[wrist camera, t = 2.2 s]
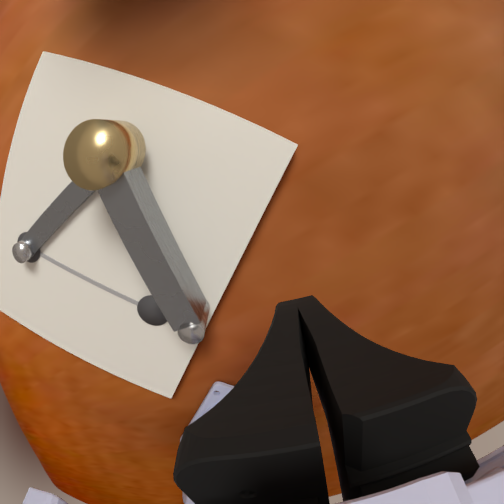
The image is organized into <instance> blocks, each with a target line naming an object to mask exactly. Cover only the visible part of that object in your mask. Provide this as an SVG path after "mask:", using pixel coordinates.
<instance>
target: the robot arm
mask: <svg viewBox="0 0 504 504" xmlns="http://www.w3.org/2000/svg"><path fill="white" fill-rule="evenodd" d="M309 368H310V371H311V374H312V377H313V380H314V383H315V386H316V388H317V391H318V394H319V397H320V400H321V403H322V406H323V409H324V412H325V415H326V419H327V422H328V427H329V431H330V436H331V441H332V446H333V450H334V455H335V460H336V465H337V470H338V476H339V481H340V486H341V492H342V497H343V502H340V503H335V504H504V445H503V446H502V447H500V448H498V449H497V450H495V451H493V452H491V453H490V454H488V455H486V456H484V457H482V458H481V459H479V460H476V458H475V456H474V454H473V453H472V451H471V449H470V447H469V445H470V444H471V438H470V436H469V434H468V433H467V431H466V430H467V427H468V425H469V423H470V420H471V417H472V415H473V412H474V410H475V406H476V402H477V397H476V392H475V391H474V389H473V388H472V387H471V385H470V384H469V382H468V381H467V380H466V378H465V377H464V376H463V375H462V374H461V373H460V371H459V370H458V369H457V368H456V367H455V366H454V365H449V364H442V363H436V362H430V361H425V360H421V359H417V358H414V357H410V356H407V355H404V354H400V353H398V352H395V351H392V350H390V349H387V348H385V347H382V346H380V345H378V344H376V343H374V342H372V341H370V340H368V339H366V338H365V337H363V336H361V335H360V334H358V333H357V332H355V331H354V330H352V329H351V328H349V327H348V326H346V325H345V324H344V323H342V322H341V321H340V320H339V319H338V318H336V317H335V316H334V315H333V314H332V313H330V312H329V311H328V310H327V309H326V308H325V307H324V306H323V305H322V304H321V303H320V302H319V301H318V300H317V299H316V298H315V297H314V296H307V297H303V298H299V299H294V300H290V301H285V302H281V303H278V304H277V306H276V309H275V314H274V317H273V321H272V324H271V326H270V329H269V331H268V334H267V336H266V338H265V341H264V343H263V344H262V346H261V348H260V350H259V352H258V354H257V356H256V358H255V359H254V361H253V362H252V364H251V365H250V367H249V368H248V370H247V371H246V373H245V374H244V375H243V376H242V378H241V379H240V380H239V382H238V383H237V384H236V385H235V386H232V385H229V384H226V383H223V382H215V383H214V384H213V386H212V387H211V389H210V391H209V392H208V394H207V396H206V397H205V399H204V401H203V402H202V404H201V405H200V407H199V409H198V410H197V412H196V414H195V415H194V417H193V419H192V420H191V422H190V424H189V425H188V426H187V427H186V428H185V430H184V433H183V435H182V437H181V439H180V444H179V448H178V452H177V457H176V462H175V468H174V473H173V475H174V481H175V483H176V484H177V486H178V487H179V488H180V489H181V490H182V491H183V502H184V504H329V497H328V490H327V484H326V477H325V471H324V465H323V459H322V453H321V447H320V441H319V436H318V431H317V426H316V421H315V416H314V412H313V404H312V393H311V382H310V372H309ZM216 391H219V392H216ZM23 504H68V503H67V502H65V501H64V500H63V499H61V498H60V497H58V496H56V495H54V494H52V493H49V492H46V491H43V490H39V489H36V488H33V487H30V488H29V490H28V492H27V494H26V497H25V499H24V501H23Z"/></svg>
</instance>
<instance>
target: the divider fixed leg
mask: <svg viewBox="0 0 504 504" xmlns="http://www.w3.org/2000/svg"><path fill="white" fill-rule="evenodd" d="M95 191H96V190H86V189H83V188H81V187H79V186H77V185H76V184H75V183H74V182H73V181H72V182H71V183H70V184H69V185H68V186H67V187H66V188H65V189H64V190H63V191H62V192H61V193H60V194H59V195H58V197H57V198H56V199H55V200H54V201H53V202H52V203H51V204H50V206H49V207H48V208H47V209H46V210H45V211H44V212H43V214H42V215H41V216H40V217H39V218H38V219H37V221H36V222H35V223H34V224H33V225H32V227H31V228H30V229H29V230H28V232H27V233H26V234H25V235H24V237H23V238H22V239H21V241H19V242H18V243H16V244H14V245H13V248H12V253H13V256H14V258H15V260H16V261H17V262H19V263H24V262H26V261H27V260H29V259H30V258H31V257H33V256H34V255H35V254H36V253H37V251H38V250H39V249H40V248H41V247H42V246H43V245H44V244H45V243H46V242H47V241H48V239H49V238H50V237H51V236H52V235H53V234H54V233H55V232H56V231H57V230H58V229H59V228H60V226H61V225H62V224H63V223H64V222H65V221H66V220H67V219H68V218H69V217H70V216H71V215H72V214H73V213H74V212H75V211H76V210H77V209H78V208H79V207H80V206H81V205H82V204H83V203H84V202H85V201H86V200H87V199H88V198H89V197H90V196H91V195H92V194H93V193H94V192H95Z"/></svg>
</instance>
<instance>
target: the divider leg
mask: <svg viewBox="0 0 504 504" xmlns="http://www.w3.org/2000/svg"><path fill="white" fill-rule="evenodd" d="M145 152H146V146H145V140H144V137H143V135H142V133H141V132H140V130H139V129H138V128H137V127H136V126H135V125H133V124H132V123H130V122H127V121H121V120H105V119H90V120H86V121H84V122H82V123H80V124H79V125H77V126H76V127H75V128H74V129H73V130H72V131H71V133H70V134H69V136H68V138H67V140H66V142H65V145H64V150H63V162H64V167H65V170H66V172H67V174H68V176H69V178H70V179H71V180H72V181H73V182H74V183H75V184H76V185H77V186H79V187H81V188H83V189H86V190H97V191H98V193H99V195H100V197H101V199H102V201H103V204H104V206H105V208H106V210H107V212H108V214H109V216H110V218H111V220H112V222H113V224H114V226H115V228H116V230H117V232H118V234H119V236H120V238H121V240H122V242H123V244H124V246H125V247H126V249H127V251H128V253H129V255H130V257H131V259H132V261H133V262H134V264H135V266H136V268H137V270H138V272H139V273H140V275H141V277H142V279H143V281H144V282H145V284H146V286H147V288H148V289H149V291H150V293H151V295H152V296H153V298H154V300H155V301H156V303H157V305H158V306H159V308H160V310H161V311H162V313H163V315H164V316H165V318H166V320H167V321H168V323H169V325H170V326H171V328H172V329H173V331H174V332H175V331H178V336H179V337H180V339H181V340H182V341H184V342H185V343H188V344H197V343H199V342H201V341H202V340H203V338H204V334H205V329H206V325H207V320H208V315H209V310H210V305H209V302H208V301H207V300H206V298H205V296H204V295H203V293H202V291H201V289H200V287H199V285H198V283H197V281H196V279H195V278H194V276H193V274H192V272H191V270H190V268H189V266H188V264H187V262H186V260H185V258H184V256H183V254H182V252H181V250H180V248H179V246H178V244H177V242H176V240H175V238H174V236H173V234H172V232H171V230H170V228H169V226H168V224H167V222H166V220H165V218H164V216H163V214H162V212H161V210H160V208H159V206H158V203H157V201H156V199H155V197H154V195H153V193H152V191H151V189H150V186H149V184H148V182H147V180H146V178H145V176H144V173H143V171H142V169H141V165H142V163H143V161H144V158H145Z"/></svg>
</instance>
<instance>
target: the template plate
mask: <svg viewBox="0 0 504 504" xmlns="http://www.w3.org/2000/svg"><path fill="white" fill-rule="evenodd" d="M90 119H105V120H121V121H127V122H130V123H132V124H133V125H135V126H136V127H137V128H138V129H139V130H140V132H141V133H142V135H143V137H144V140H145V146H146V152H145V158H144V161H143V163H142V165H141V169H142V171H143V173H144V176H145V178H146V180H147V182H148V184H149V186H150V189H151V191H152V193H153V195H154V197H155V199H156V201H157V203H158V206H159V208H160V210H161V212H162V214H163V216H164V218H165V220H166V222H167V224H168V226H169V228H170V230H171V232H172V234H173V236H174V238H175V240H176V242H177V244H178V246H179V248H180V250H181V252H182V254H183V256H184V258H185V260H186V262H187V264H188V266H189V268H190V270H191V272H192V274H193V276H194V278H195V279H196V281H197V283H198V285H199V287H200V289H201V291H202V293H203V295H204V296H205V298H206V300H207V301H208V302H209V305H210V310H209V315H208V320H207V325H208V323H209V321H210V319H211V317H212V315H213V313H214V311H215V309H216V307H217V305H218V303H219V301H220V299H221V297H222V295H223V293H224V291H225V289H226V287H227V285H228V283H229V281H230V279H231V277H232V275H233V273H234V271H235V269H236V267H237V265H238V263H239V261H240V259H241V257H242V255H243V253H244V251H245V249H246V247H247V245H248V243H249V241H250V239H251V237H252V235H253V233H254V231H255V229H256V227H257V225H258V223H259V221H260V219H261V217H262V215H263V213H264V211H265V209H266V207H267V205H268V203H269V201H270V199H271V197H272V195H273V193H274V191H275V189H276V187H277V185H278V183H279V181H280V179H281V177H282V175H283V173H284V171H285V169H286V167H287V166H288V164H289V162H290V160H291V158H292V156H293V154H294V152H295V150H296V148H297V146H298V145H297V144H295V143H293V142H291V141H289V140H287V139H285V138H283V137H281V136H279V135H277V134H275V133H273V132H271V131H269V130H267V129H265V128H263V127H260V126H258V125H256V124H254V123H252V122H250V121H247V120H245V119H243V118H241V117H239V116H236V115H234V114H232V113H229V112H227V111H225V110H222V109H220V108H218V107H215V106H213V105H211V104H208V103H206V102H203V101H201V100H198V99H196V98H193V97H191V96H188V95H186V94H183V93H180V92H178V91H175V90H172V89H170V88H167V87H164V86H161V85H159V84H156V83H153V82H150V81H147V80H144V79H141V78H138V77H135V76H132V75H129V74H126V73H123V72H120V71H116V70H113V69H110V68H107V67H103V66H100V65H96V64H93V63H89V62H85V61H82V60H78V59H74V58H70V57H66V56H62V55H58V54H53V53H49V52H45V51H43V53H42V55H41V57H40V60H39V62H38V65H37V67H36V69H35V72H34V75H33V77H32V80H31V82H30V85H29V88H28V91H27V94H26V96H25V99H24V102H23V105H22V109H21V112H20V115H19V118H18V122H17V125H16V129H15V132H14V136H13V140H12V144H11V148H10V152H9V156H8V161H7V165H6V170H5V175H4V181H3V186H2V192H1V198H0V310H1V311H2V312H4V313H5V314H7V315H8V316H10V317H11V318H13V319H14V320H16V321H17V322H19V323H20V324H22V325H24V326H25V327H27V328H28V329H30V330H32V331H33V332H35V333H37V334H38V335H40V336H42V337H43V338H45V339H47V340H48V341H50V342H52V343H54V344H55V345H57V346H59V347H61V348H63V349H64V350H66V351H68V352H70V353H72V354H74V355H75V356H77V357H79V358H81V359H83V360H85V361H87V362H89V363H91V364H93V365H95V366H97V367H99V368H101V369H103V370H105V371H107V372H110V373H112V374H114V375H116V376H118V377H120V378H123V379H125V380H127V381H129V382H132V383H134V384H136V385H139V386H141V387H143V388H146V389H148V390H151V391H153V392H156V393H158V394H161V395H163V396H166V397H168V398H172V396H173V394H174V392H175V390H176V388H177V386H178V384H179V382H180V380H181V378H182V376H183V374H184V372H185V369H186V367H187V365H188V363H189V361H190V359H191V357H192V355H193V353H194V351H195V349H196V347H197V345H198V343H197V344H188V343H185V342H184V341H182V340H181V339H180V337H179V336H178V331H175V332H174V331H173V329H172V328H171V326H170V325H169V323H168V321H167V320H166V318H165V316H164V315H163V313H162V311H161V310H160V308H159V306H158V305H157V303H156V301H155V300H154V298H153V296H152V295H151V293H150V291H149V289H148V288H147V286H146V284H145V282H144V281H143V279H142V277H141V275H140V273H139V272H138V270H137V268H136V266H135V264H134V262H133V261H132V259H131V257H130V255H129V253H128V251H127V249H126V247H125V246H124V244H123V242H122V240H121V238H120V236H119V234H118V232H117V230H116V228H115V226H114V224H113V222H112V220H111V218H110V216H109V214H108V212H107V210H106V208H105V206H104V204H103V201H102V199H101V197H100V195H99V193H98V191H97V190H96V191H95V192H94V193H93V194H92V195H91V196H90V197H89V198H88V199H87V200H86V201H85V202H84V203H83V204H82V205H81V206H80V207H79V208H78V209H77V210H76V211H75V212H74V213H73V214H72V215H71V216H70V217H69V218H68V219H67V220H66V221H65V222H64V223H63V224H62V225H61V226H60V228H59V229H58V230H57V231H56V232H55V233H54V234H53V235H52V236H51V237H50V238H49V239H48V241H47V242H46V243H45V244H44V245H43V246H42V247H41V248H40V249H39V250H38V251H37V253H36V254H35V255H34V256H33V257H31V258H30V259H29V260H27V261H26V262H24V263H19V262H17V261H16V260H15V258H14V256H13V253H12V248H13V245H14V244H16V243H18V242H19V241H21V239H22V238H23V237H24V235H25V234H26V233H27V232H28V230H29V229H30V228H31V227H32V225H33V224H34V223H35V222H36V221H37V219H38V218H39V217H40V216H41V215H42V214H43V212H44V211H45V210H46V209H47V208H48V207H49V206H50V204H51V203H52V202H53V201H54V200H55V199H56V198H57V197H58V195H59V194H60V193H61V192H62V191H63V190H64V189H65V188H66V187H67V186H68V185H69V184H70V183H71V182H72V180H71V179H70V178H69V176H68V174H67V172H66V170H65V167H64V162H63V150H64V145H65V142H66V140H67V138H68V136H69V134H70V133H71V131H72V130H73V129H74V128H75V127H76V126H77V125H79V124H80V123H82V122H84V121H86V120H90ZM207 325H206V327H207Z"/></svg>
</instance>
